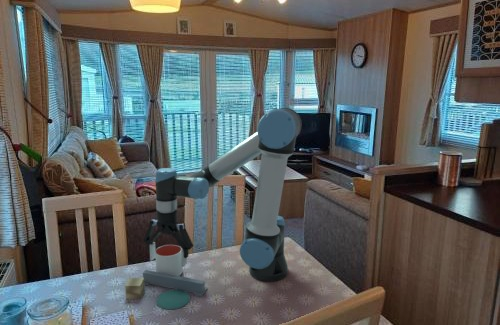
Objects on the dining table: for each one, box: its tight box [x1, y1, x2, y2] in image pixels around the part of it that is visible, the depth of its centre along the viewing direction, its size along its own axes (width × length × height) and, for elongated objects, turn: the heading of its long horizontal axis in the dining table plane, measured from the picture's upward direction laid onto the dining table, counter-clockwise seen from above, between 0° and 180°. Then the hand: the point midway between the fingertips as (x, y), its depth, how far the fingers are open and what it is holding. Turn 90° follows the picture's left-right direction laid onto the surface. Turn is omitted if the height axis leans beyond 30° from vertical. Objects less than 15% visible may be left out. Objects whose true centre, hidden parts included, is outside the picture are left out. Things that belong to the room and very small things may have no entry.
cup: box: [154, 244, 183, 276], centre depth 133 cm, size 10×10×10 cm
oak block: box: [124, 277, 146, 300], centre depth 120 cm, size 5×5×5 cm
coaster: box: [156, 289, 191, 311], centre depth 117 cm, size 11×11×1 cm
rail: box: [142, 269, 208, 298], centre depth 125 cm, size 24×5×4 cm, turn 72°
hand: (168, 262), depth 133 cm, fingers open, 13 cm apart
